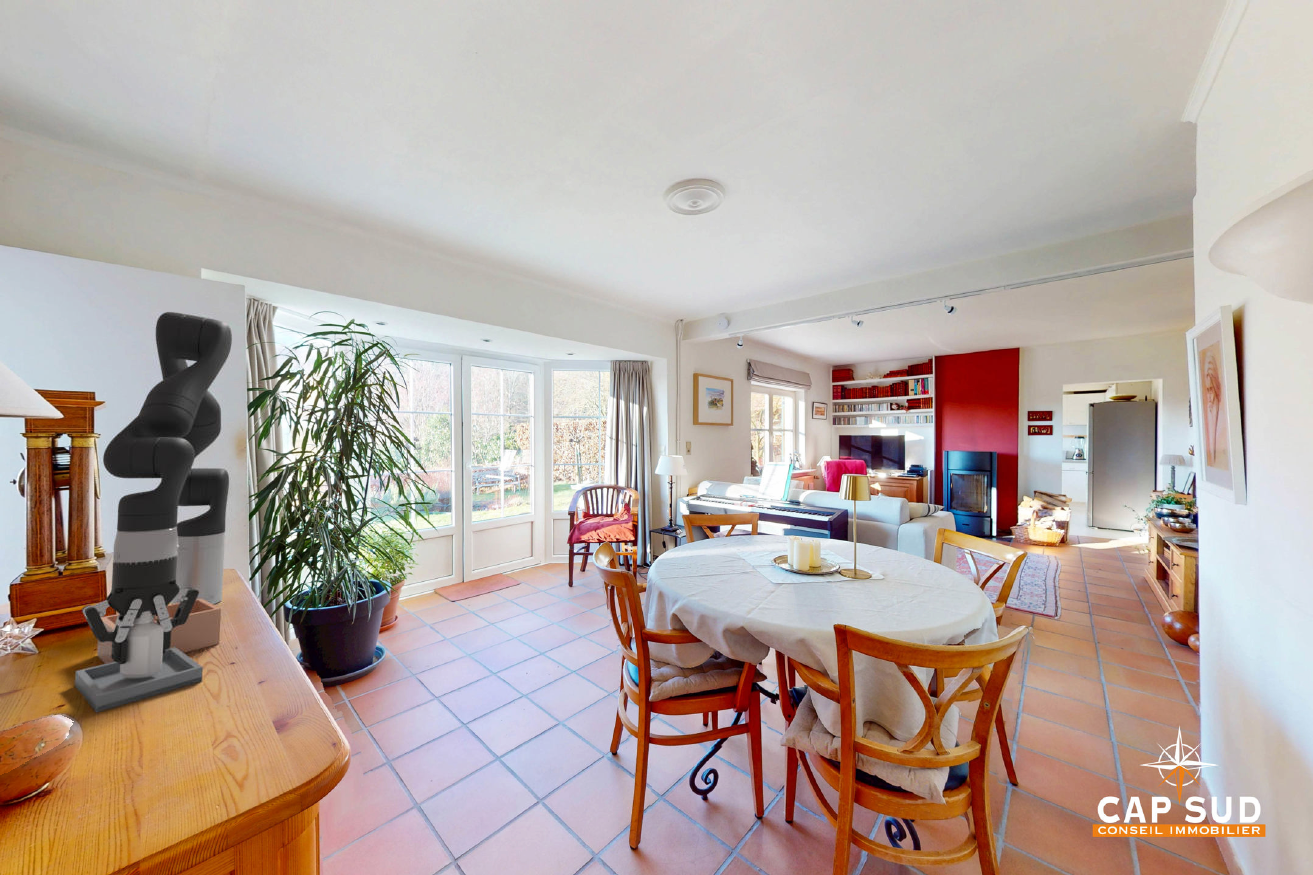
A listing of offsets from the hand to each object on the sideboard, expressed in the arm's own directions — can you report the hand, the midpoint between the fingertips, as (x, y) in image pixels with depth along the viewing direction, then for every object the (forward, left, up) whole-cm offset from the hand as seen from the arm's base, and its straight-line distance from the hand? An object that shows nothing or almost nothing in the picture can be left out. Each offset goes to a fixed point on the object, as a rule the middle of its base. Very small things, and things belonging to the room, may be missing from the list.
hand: (141, 657), depth 82 cm
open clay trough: (-15, +6, -4) cm, 17 cm away
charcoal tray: (0, 0, -4) cm, 4 cm away
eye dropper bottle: (0, 0, -3) cm, 3 cm away
